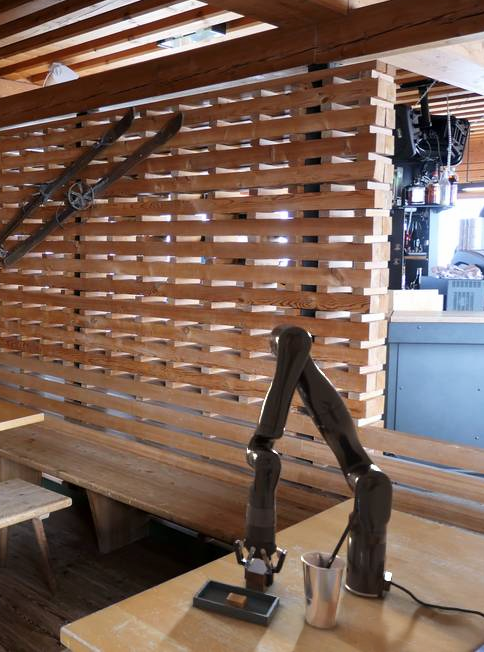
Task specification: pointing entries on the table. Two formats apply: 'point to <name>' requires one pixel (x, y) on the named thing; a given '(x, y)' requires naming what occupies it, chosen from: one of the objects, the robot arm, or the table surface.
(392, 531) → the table surface
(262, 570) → the brown long rectangular block
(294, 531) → the table surface
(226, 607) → the tray
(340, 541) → the metal cup with straw
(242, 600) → the copper square block
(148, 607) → the table surface
